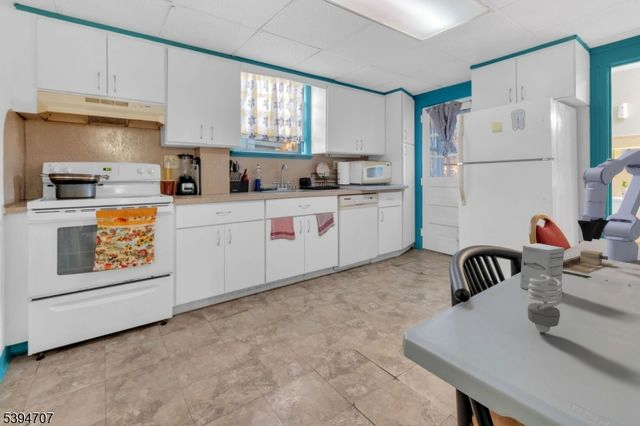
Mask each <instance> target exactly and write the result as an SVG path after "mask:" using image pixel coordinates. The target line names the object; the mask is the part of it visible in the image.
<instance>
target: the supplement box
mask: <svg viewBox="0 0 640 426" xmlns="http://www.w3.org/2000/svg"><path fill="white" fill-rule="evenodd" d="M564 255H565V247H560V246H554V245H549V244H543V243H537V242H536V243H530V244H523V245H522V255H521V268H520V280H519V281H520V282H519V288H520V287H521V288H522V289H525V290H528V289H533V288H530V287H529V286H528V285H529V284H530V283H532V282H530V281H529V280H530V278H538V279H543V278H541V277H540V275H546V276H550V277H553V278H556V279H558V280H559V281H560V282H561V283H562V280H563V279H562V278H563V273H562V271H564V269H563V260H564ZM543 280H546V279H543ZM551 282H553V283H555V284H557V283H556V282H554V281H551ZM535 284H536V283H535ZM542 285H546V286H551V285H548V284H542ZM556 290H558V289H556ZM544 291H547V292H552V291H549V290H544Z"/></svg>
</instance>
